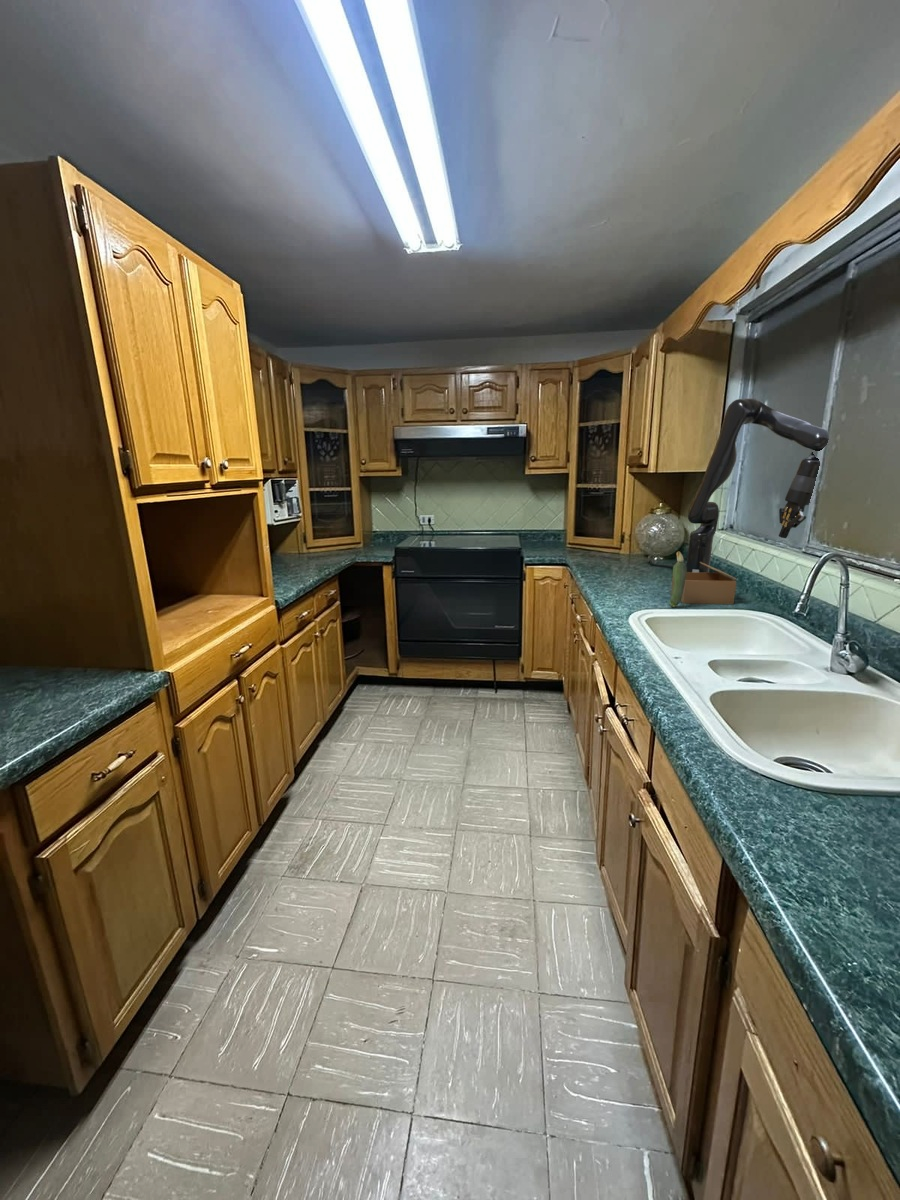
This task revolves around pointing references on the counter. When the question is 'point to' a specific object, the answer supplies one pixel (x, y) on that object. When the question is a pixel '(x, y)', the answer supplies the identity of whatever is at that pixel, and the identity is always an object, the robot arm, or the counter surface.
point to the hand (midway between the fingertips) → (782, 537)
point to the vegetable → (678, 580)
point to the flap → (718, 570)
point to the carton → (708, 588)
